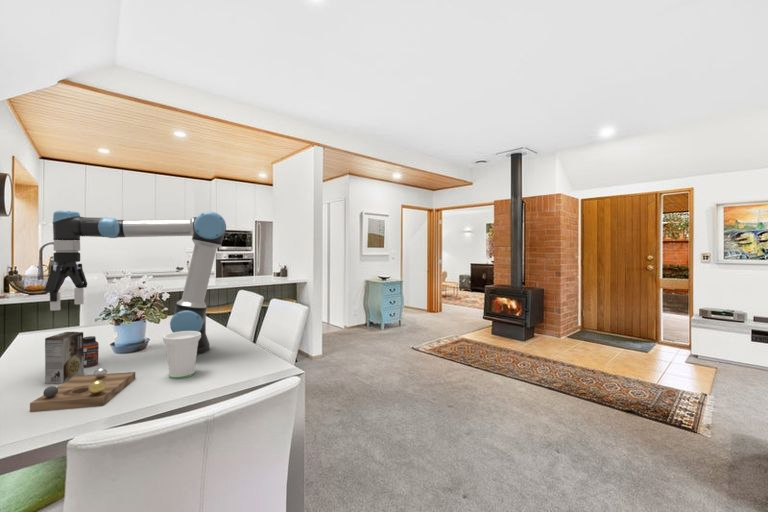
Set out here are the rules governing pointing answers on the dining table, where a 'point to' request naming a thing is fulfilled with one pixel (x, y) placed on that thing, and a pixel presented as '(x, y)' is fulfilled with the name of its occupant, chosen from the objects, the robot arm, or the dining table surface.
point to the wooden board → (83, 392)
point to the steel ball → (100, 373)
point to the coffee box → (63, 357)
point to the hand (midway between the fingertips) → (67, 307)
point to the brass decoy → (97, 387)
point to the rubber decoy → (50, 391)
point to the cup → (181, 353)
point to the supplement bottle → (90, 351)
